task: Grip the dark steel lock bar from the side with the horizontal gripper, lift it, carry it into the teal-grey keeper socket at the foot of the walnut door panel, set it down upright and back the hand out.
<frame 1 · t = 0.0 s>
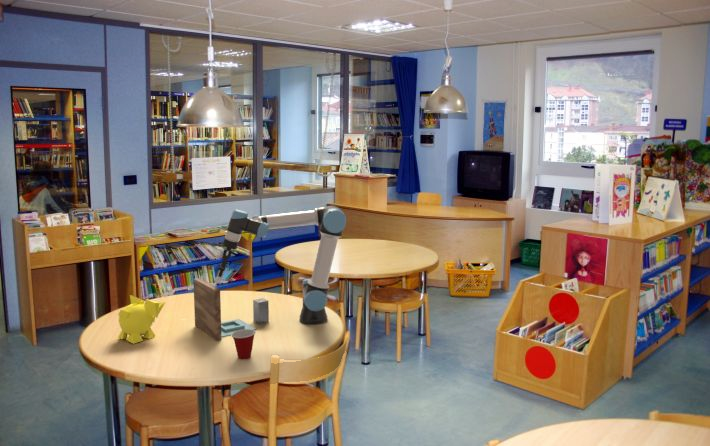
hand: (218, 279, 311), 28 cm above the table, tool tilted 20°, fingers open, 13 cm apart
keeper socket: (230, 328, 321), on the table
piggy bank: (138, 337, 307), on the table
door panel: (207, 332, 313), on the table
lock bar: (261, 321, 331), on the table
plastic cup: (243, 357, 281), on the table
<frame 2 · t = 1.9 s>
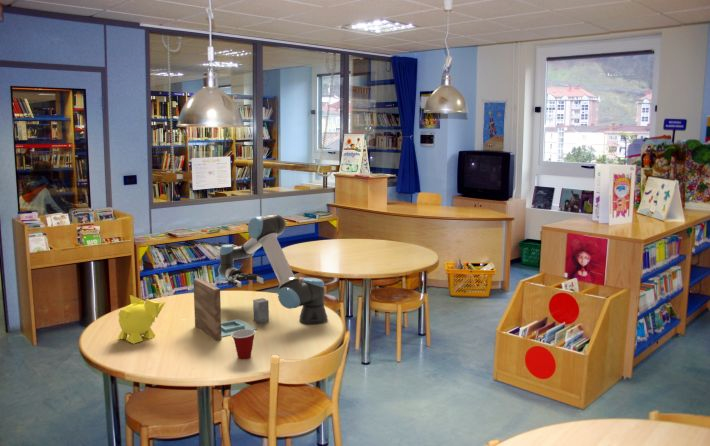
hand: (251, 283, 336), 19 cm above the table, tool horizontal, fingers open, 13 cm apart
nothing on the table moved.
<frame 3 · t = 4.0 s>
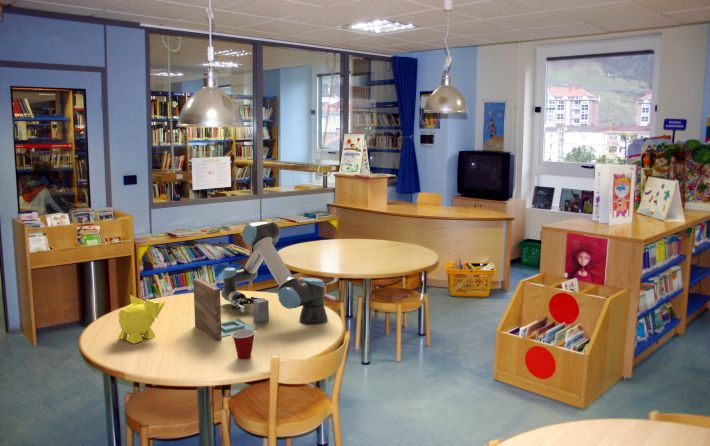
hand: (255, 307, 335), 6 cm above the table, tool horizontal, fingers open, 13 cm apart
nothing on the table moved.
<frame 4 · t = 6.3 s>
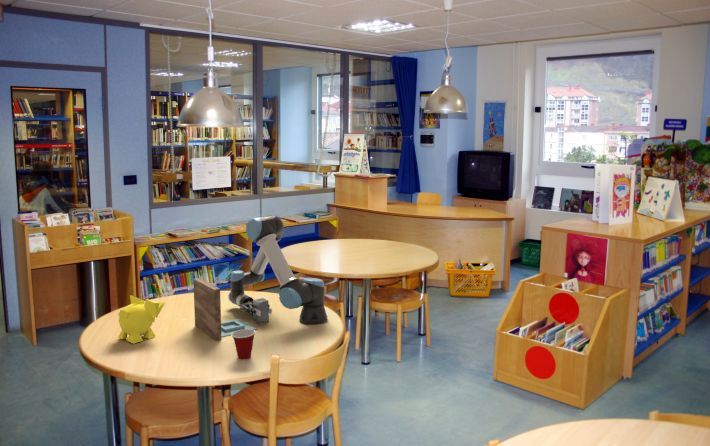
hand: (265, 312, 326), 7 cm above the table, tool horizontal, fingers closed on lock bar, 6 cm apart
lock bar: (261, 321, 331), on the table, touching gripper
everything else where it was.
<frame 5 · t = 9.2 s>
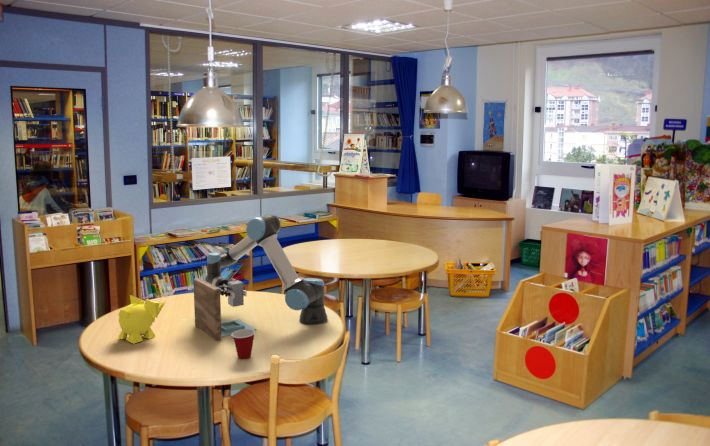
hand: (239, 294, 317), 18 cm above the table, tool horizontal, fingers closed on lock bar, 6 cm apart
lock bar: (235, 304, 322), point 12 cm above the table, touching gripper
everything else where it was.
when the fingers open (8 cm above the table, at t = 12.3 s): lock bar drops 1 cm, resting on keeper socket.
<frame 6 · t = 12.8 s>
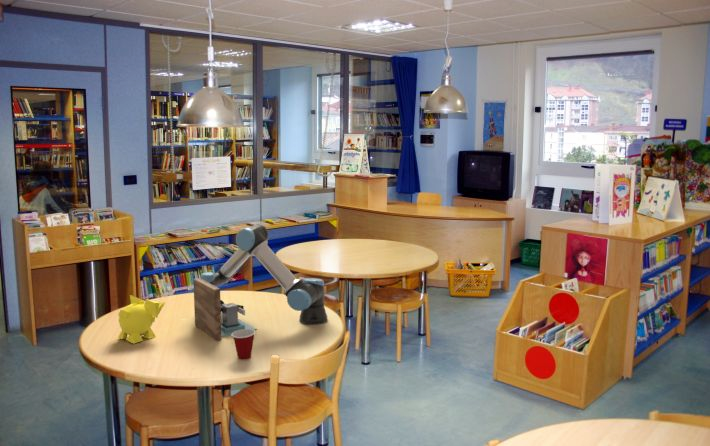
hand: (233, 315, 317), 8 cm above the table, tool horizontal, fingers open, 12 cm apart
lock bar: (230, 327, 321), resting on keeper socket
everything else where it was.
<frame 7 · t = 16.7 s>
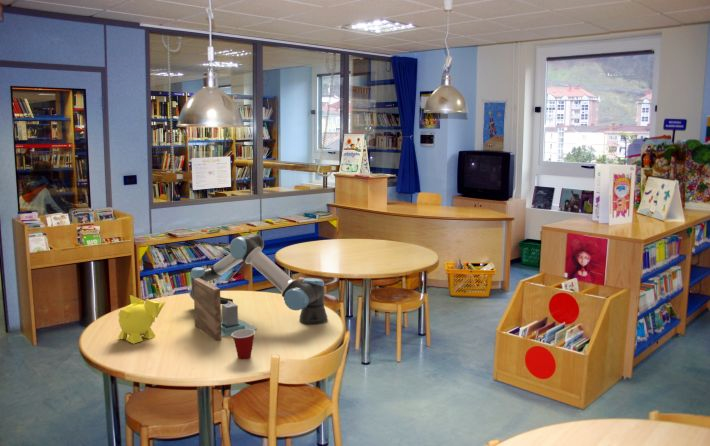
hand: (222, 308, 327), 8 cm above the table, tool horizontal, fingers open, 13 cm apart
nothing on the table moved.
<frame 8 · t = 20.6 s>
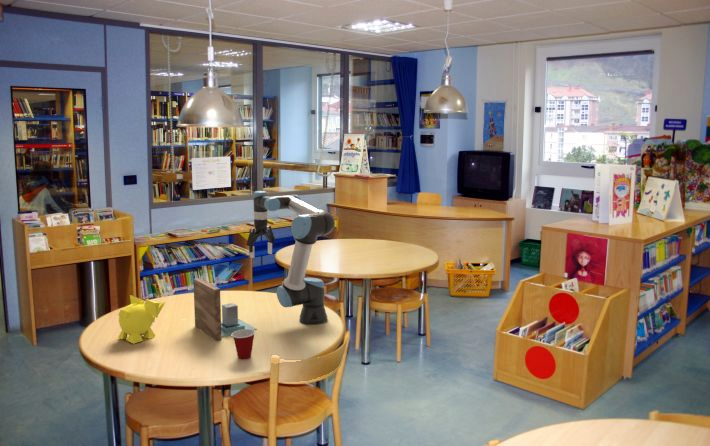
hand: (261, 255, 347), 32 cm above the table, tool pointing down, fingers open, 13 cm apart
nothing on the table moved.
at the end: lock bar 0.1 cm off-centre on the keeper socket, point 0.4 cm above the keeper socket's base; lock bar tilted 0°; the gripper is holding nothing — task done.
